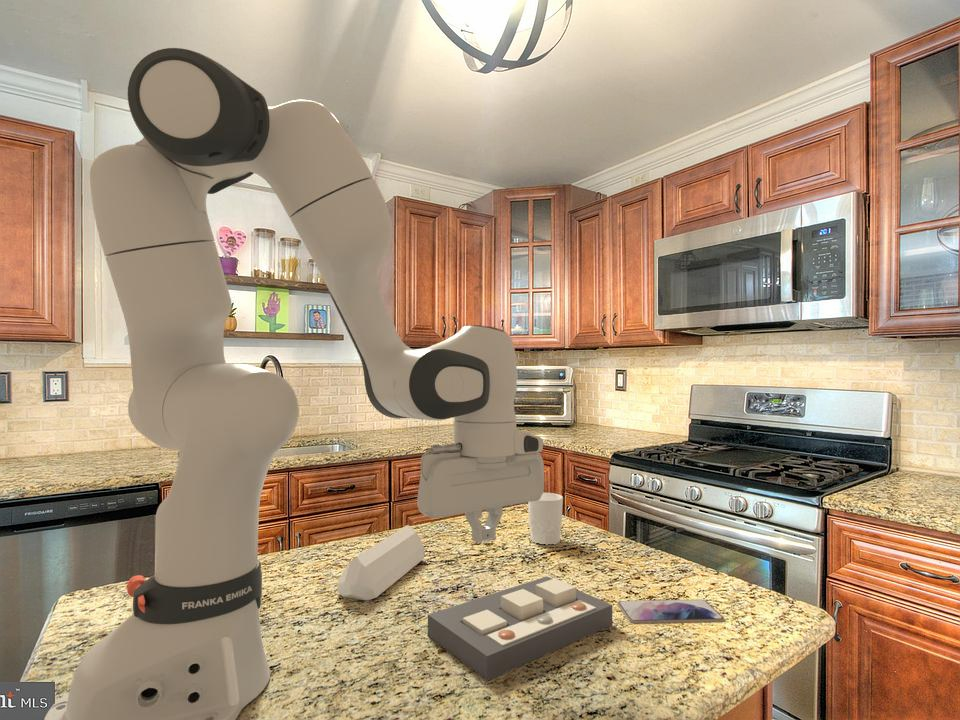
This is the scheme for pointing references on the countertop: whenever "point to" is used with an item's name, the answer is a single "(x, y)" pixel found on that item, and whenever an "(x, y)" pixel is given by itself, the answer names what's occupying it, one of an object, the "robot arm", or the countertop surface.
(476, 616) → the button left
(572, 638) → the button board
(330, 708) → the countertop surface
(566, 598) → the button right
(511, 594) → the button middle
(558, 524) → the white cup
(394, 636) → the countertop surface
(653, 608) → the smartphone
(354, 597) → the beige chamfered bar
